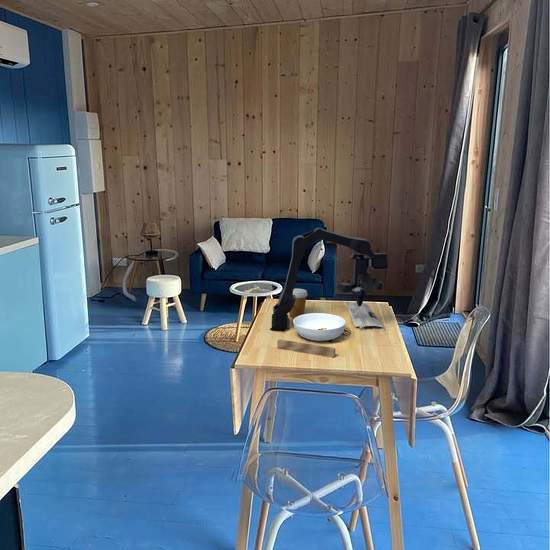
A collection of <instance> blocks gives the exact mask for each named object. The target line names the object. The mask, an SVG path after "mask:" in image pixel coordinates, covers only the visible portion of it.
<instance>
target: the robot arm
mask: <svg viewBox="0 0 550 550" xmlns="http://www.w3.org/2000/svg"><path fill="white" fill-rule="evenodd" d="M318 240H324V241H326V242H330V243H333V244H337V245H340V246H343V247H346V248H349V249H350V250H352V251H354V252H353V253H352V254H351V255H349V258H350V259H351V260H354V263H353V264H354V265H353V266H354V269H353V270H352V275H353V280H352V281H351V283H352V284H351V283H348V282H338V284H337V285H336V286H337V287H336V290H337V291H340V292H341V293H351V292H352V294H353V297H354V299H355V302H357V304H358V306H359V307H360V306H361V305H362V303H364V300H365V298H366V296H367V295H368V294H369V293H371V292H374V291H375V289H376V290H377V291H378V290H384V283H383V281H380V278H379V277H375V278H373V277H372V278H371V274H370V272H369V267H370V268H371V269H372V270H375V271H377V270H378V271H379V270H384V271H386V270H388V266H389V262H388V257H387V256H388V254H387V253H386V252H381V253H380V252H379V253H377V252H376V253H374V251H373V250H372V249H371V247H372V246H371V243H370V242H369V241H368V240H367V239H365V238H364V237H356V236H352V237H351V236H347V235H343V234H339V233H336V232H333V231H330V230H326V229H323V228H321V227H316V228H314V229H313V230H311V231H308V232H306V233H304V234H302V235H301V234H298V235H295V236H294V237H293V239H292V245H291V246H292V247H291V258H290V259H291V260H290V264H289V268H288V271H287V272H288V273H287V276H286V280H285V283H284V287H283V290H282V292H281V294H280V295H279V298H278V299H277V303H276V304H275V305H273V306H272V314H271V327H270V328H269V330H271V331H276V332H283V333H285V332H286V331H287V330H289V329H290V327H291V326H290V317H289V312H290V311H291V310H292V307H293V308H294V303H295V300H296V297H295V295H293V290H294V289H295V285H296V282H297V277H298V273H299V270H300V265H301V261H302V259H303V257H304V255H305V254H306V251H307V249H308V247H309V246H311V245H312V244H315V242H317V241H318ZM355 252H356V253H355ZM364 255H365V256H364Z"/></svg>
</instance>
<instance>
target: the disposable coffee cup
mask: <svg viewBox="0 0 550 550" xmlns="http://www.w3.org/2000/svg"><path fill="white" fill-rule="evenodd" d="M293 295H295V297H296V300H295V303H294V308H293V307H292V310H291V311H290V312H289V313H288V316H289V318H291V319H293V320H294V319H295V318H296V317H298V316H300V315H304V314H305V310H306V303H307V302H306V301H307V296H308V295H309V294H308V290H307V289H303V288H294V290H293Z"/></svg>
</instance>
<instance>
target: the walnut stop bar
mask: <svg viewBox="0 0 550 550" xmlns="http://www.w3.org/2000/svg"><path fill="white" fill-rule="evenodd" d="M277 349H278V350H279V349H280V350H285V351H291V352H298V353H301V354H309V355H314V356H320V355H321V357H327V358H332V359H333V358H335V357H336V347H332V346H325V345H317V344H312V343H306V342H298V341H293V340H287V339H278V340H277Z"/></svg>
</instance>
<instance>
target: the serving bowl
mask: <svg viewBox="0 0 550 550" xmlns="http://www.w3.org/2000/svg"><path fill="white" fill-rule="evenodd" d="M292 321H293V326H294V330H295V331H296V332H297V334H298V335H299V336H301V337H303V338H305V339H307V340H311V341H317V342H320V341H321V342H323V341H330V340H334V339H336V338H338V337H340V336H341V335H342V334H343V333H344V331H345V329H346V325H347V320H346V319H345V318H343V317H342V316H339V315H335V314H331V313H323V312H313V313H312V312H311V313H304V315H300V316H298V317H296V318H295V319H294V318H293V320H292ZM321 328H327V329H326V330H318V329H321Z"/></svg>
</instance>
